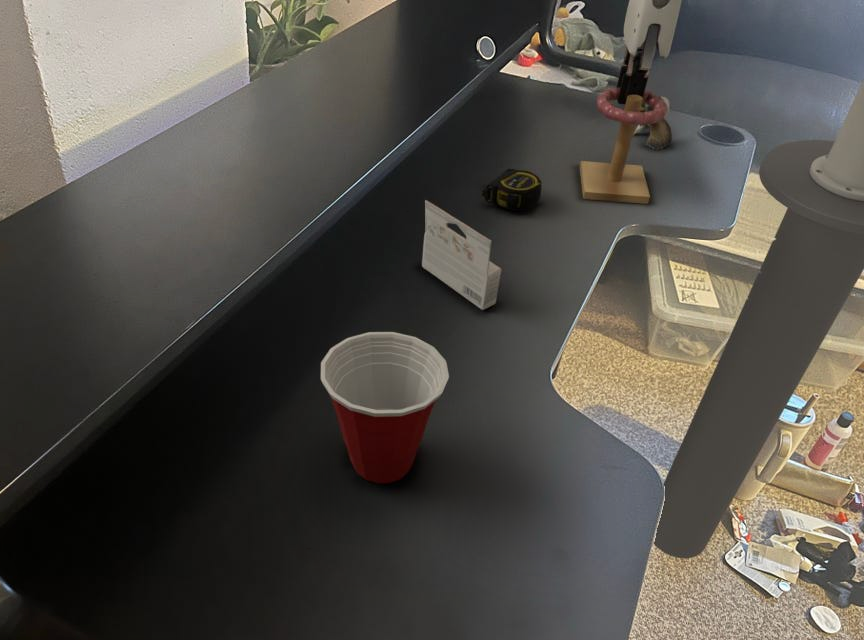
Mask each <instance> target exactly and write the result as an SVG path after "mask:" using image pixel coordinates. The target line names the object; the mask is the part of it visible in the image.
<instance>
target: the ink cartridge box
mask: <svg viewBox="0 0 864 640" xmlns="http://www.w3.org/2000/svg"><path fill="white" fill-rule="evenodd" d="M424 206H425V207H424V211H425V212H424V217H425V221H424V222H425V228H424V229H425V230H424V231H425V232H424V234H423V235H424V236H423V246H422V255H421V256H422V259H421V267H422V268H423V269H424V270H426V271H427V272H429V273H430V274H431V275H433V276H434V277H435V278H437V279H438V280H440V281H441V282H443V283H444V284H445V285H447V287H449V288H451V289H452V290H454V291H455V292H456V293H458V294H459V295H461V296H462V297H463V298H465V299H466V300H468V301H469V302H471V304H473V305H474V306H476V307H477V308H478V309H480V310H481V311H484V310H486V309H488V308H490V307H492V306H494V305H496V303H497V297H498V293H499V292H498V291H499V286H500V279H501V274H502V268H501V267H499V266H498V265H496V264H495V263H494V262H492V261H491V252H492V240H491V239H490V238H488V237H486V236H485V235H483V234H481V233H480V232H478V231H477V230H475V229H474V228H472V227H470V226H469V225H467V224H466V223H464V222H462V221H460V220H459V219H458V218H456V217H454V216H453V215H451V214H449V213H448V212H446V211H445V210H443V209H441V208H440V207H438V206H437V205H435V204H434V203H432V202H430V201H428V200H427V199H425V200H424ZM449 224H450V225H451V224H452V225H456V226H457V227H458V228H459V229H460V230H461V231H462V232H463V234H464V235H465V237H464V236H462V235H461V234H459V233H457V232H456V231H455V230H453V229H452V228H450V227H449Z"/></svg>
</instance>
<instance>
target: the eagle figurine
mask: <svg viewBox="0 0 864 640" xmlns="http://www.w3.org/2000/svg"><path fill="white" fill-rule="evenodd" d="M660 97H661V98H662V99H664V100H665V102H666V105H667V108H668V113H667V115H666V116H668V115H669V113H670V107H671V106H670V105H671V104H670V100H669V99H668V98H667V97H665V96H660ZM653 110H654V108H652V107H651V106H649V105H647V106H646V104H645V103H641V107H640V111H639V112H649V111H653ZM647 127H649V128H650V132H649V136H648V137H647V140H646V143H645V145H646V146H648V148H650V149H652V150H654V151H655V150H657V151H659V150H660V149H661V150H663V149H664V148H668V146H670V145H671V142H672V139H673V137H672V136H673V135H672V129H671V126H670V124H669V123H668V121H667V120H666V119H665V117H664V118H663V119H661V120H660V121H659V122H657V123H653V124H648V125H637V127H635V130H634V134H633V135H637V134H640V133H642V132H643V130H644V129H645V128H647Z"/></svg>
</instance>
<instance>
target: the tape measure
mask: <svg viewBox="0 0 864 640" xmlns="http://www.w3.org/2000/svg"><path fill="white" fill-rule="evenodd" d="M542 186H543V185H542V180H541V179H540V177H539V176H538V175H537V174H535V173H533V172H532V171H529V170H524V169H523V170H522V169H516V168H515V169H514V168H506V169H505V170H504V171H503V172H502V173H500V175H498V176H497V177H496V178H494V179H493V180H491V181H489V183H487V185H486V186H485V188H484V189H483V188H482V190H481V191H482V193H481V196H482V197H484V199H485V201H486V202H487V203H488V204H497V205H498V206H500V207H502V208H504V209H506V210H511V211H525V210H528V209H532V208H533V207H535V206H536V205H537V204H538V202H539V201H540V198H541V195H542V194H541V193H542Z"/></svg>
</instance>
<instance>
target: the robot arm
mask: <svg viewBox="0 0 864 640" xmlns="http://www.w3.org/2000/svg"><path fill="white" fill-rule="evenodd" d="M682 1H683V0H629V1H628V5H627V9H626V13H625V20H624V25H623V37H624V40H625V44H626V47H625V51H624V57H623V60H622V65H621V67H620V71H619V75H618V79H617V83H616V87H615V88H618V87H620V91H619V95H618V99H617V100H616V101H617V104H618V105H625V104H626V100H627V97H628V95H639V96H641V97H642V98H643V95H644V92H645V90H646V88H647V84H648V81H649V76H650V72H651V69H652V65H653V60H654V58H655V53H656V50H657V52H658V55H659V57H660V58H661V59H662V60H663V59H667V58H668V56H669V55H670V52H671V48H672V43H673V39H674V36H675V32H676V27H677V23H678V19H679V14H680V11H681V5H682ZM834 141H835V142H834V144H833V146H832V148H831V150H830V152H829V155H825V156H822V157H819V158H817V159H815V160H814V161H813V163H812V165H811V167H810V170H809V171H810V175H811V177H812V179H813V180H814V181H815V182H816V183H817V184H818V185H820V186H821V187H823V188H824V189H826V190H828V191H830V192H832V193H834V194H837V195H839V196H842V197H845V198H849V199H852V200H857V201H863V202H864V79H862V81H861V84H860V86H859V88H858V90H857V92H856V94H855V97H854V99H853V101H852V104H851V105H850V107H849V110H848V112H847V114H846V115H845V118H844V120H843V123H842V125H841V126H840V129H839V131H838V133H837V135H836V138H835V139H834Z"/></svg>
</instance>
